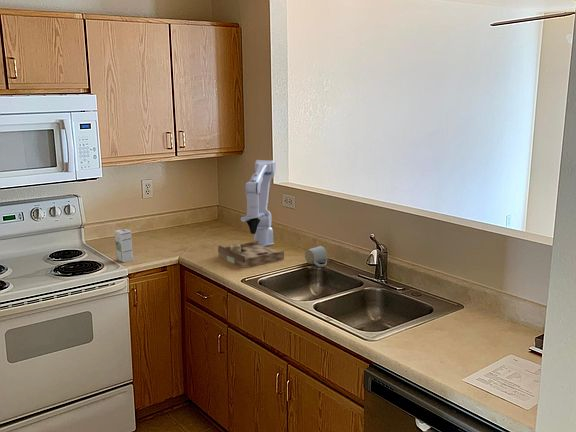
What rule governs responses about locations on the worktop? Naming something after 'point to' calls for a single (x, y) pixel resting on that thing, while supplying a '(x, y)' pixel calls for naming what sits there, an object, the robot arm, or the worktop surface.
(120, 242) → the syrup box
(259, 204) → the robot arm
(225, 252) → the trap box
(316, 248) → the ceramic mug
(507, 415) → the worktop surface
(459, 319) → the worktop surface
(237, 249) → the maple block
